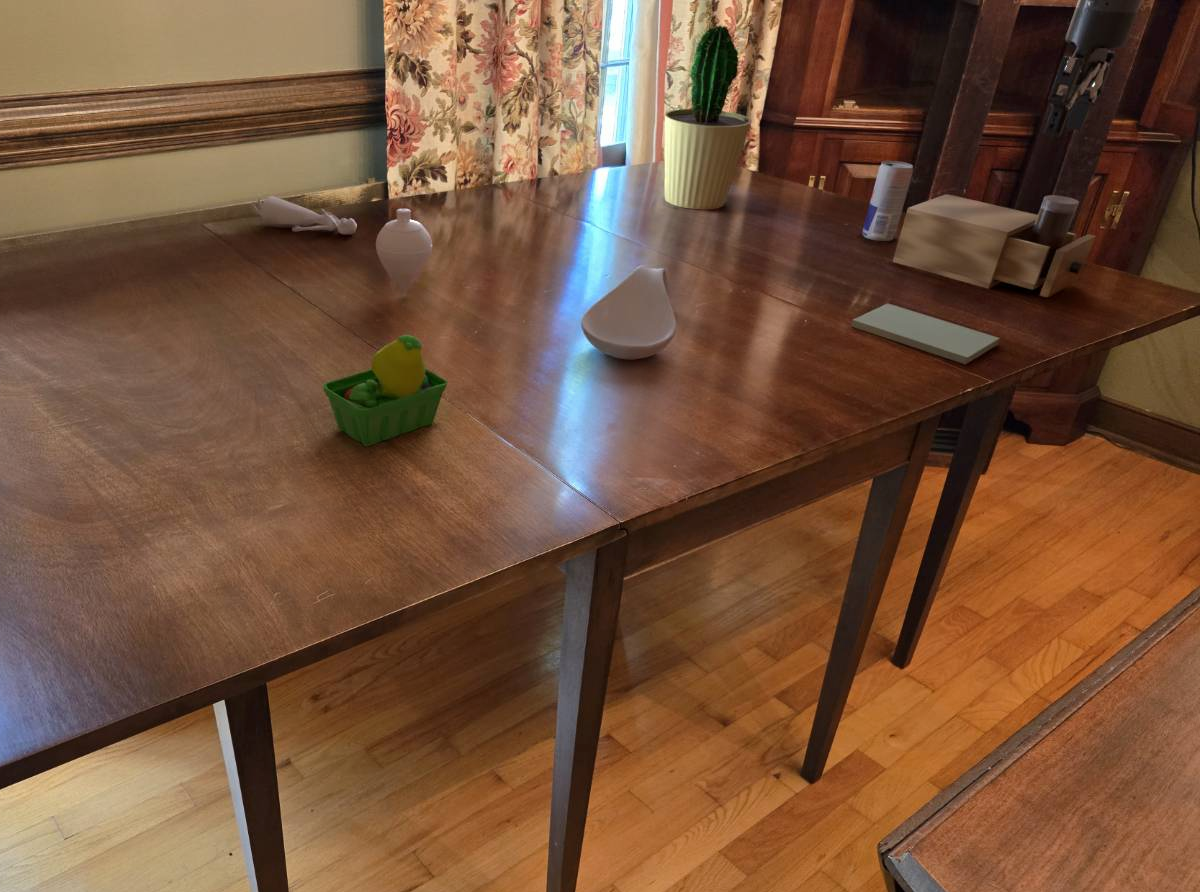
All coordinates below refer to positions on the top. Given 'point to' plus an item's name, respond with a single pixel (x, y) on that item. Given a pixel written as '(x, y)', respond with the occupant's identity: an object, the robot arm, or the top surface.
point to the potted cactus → (705, 129)
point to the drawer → (1042, 262)
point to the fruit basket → (387, 394)
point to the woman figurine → (299, 217)
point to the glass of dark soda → (1053, 225)
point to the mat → (926, 333)
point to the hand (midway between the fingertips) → (1062, 132)
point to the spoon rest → (632, 316)
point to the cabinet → (958, 238)
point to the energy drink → (887, 200)
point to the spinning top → (404, 249)
